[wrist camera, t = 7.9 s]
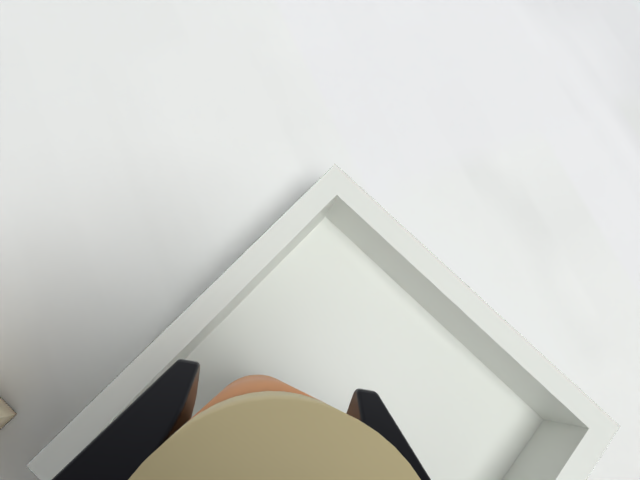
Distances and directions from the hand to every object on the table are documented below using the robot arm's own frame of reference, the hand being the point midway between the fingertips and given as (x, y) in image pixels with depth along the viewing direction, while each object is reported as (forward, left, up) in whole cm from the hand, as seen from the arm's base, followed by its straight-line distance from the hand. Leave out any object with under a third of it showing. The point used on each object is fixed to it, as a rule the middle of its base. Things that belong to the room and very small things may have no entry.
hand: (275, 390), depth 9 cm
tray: (+1, -4, -13) cm, 14 cm away
